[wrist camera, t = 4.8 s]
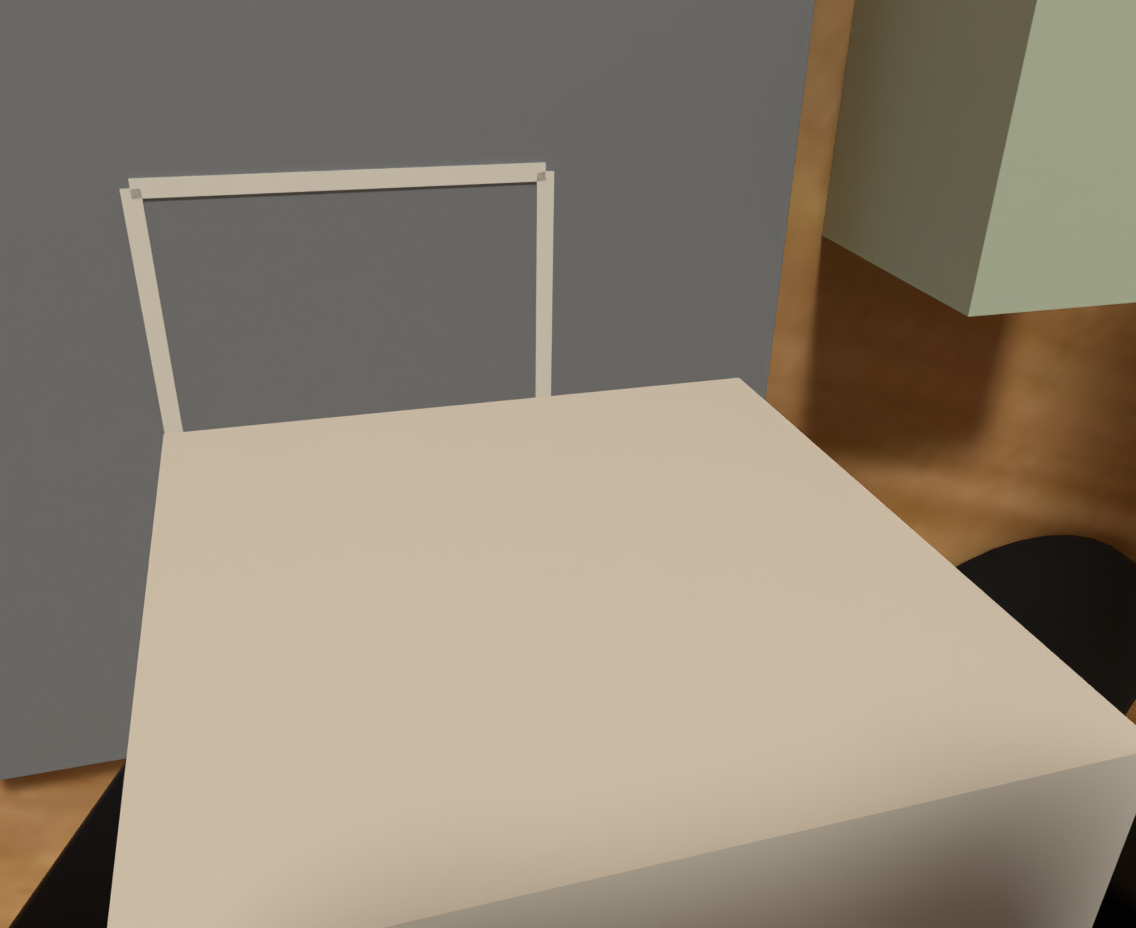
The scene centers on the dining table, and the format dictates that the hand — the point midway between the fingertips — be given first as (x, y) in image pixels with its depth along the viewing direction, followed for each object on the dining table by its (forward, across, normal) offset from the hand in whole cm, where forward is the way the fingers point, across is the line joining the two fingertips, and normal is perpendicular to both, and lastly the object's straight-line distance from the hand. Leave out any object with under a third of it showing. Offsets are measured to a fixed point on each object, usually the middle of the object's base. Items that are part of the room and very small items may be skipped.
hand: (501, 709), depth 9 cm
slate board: (+12, 0, +1) cm, 12 cm away
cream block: (+1, 0, 0) cm, 1 cm away
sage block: (+11, -12, -3) cm, 17 cm away
